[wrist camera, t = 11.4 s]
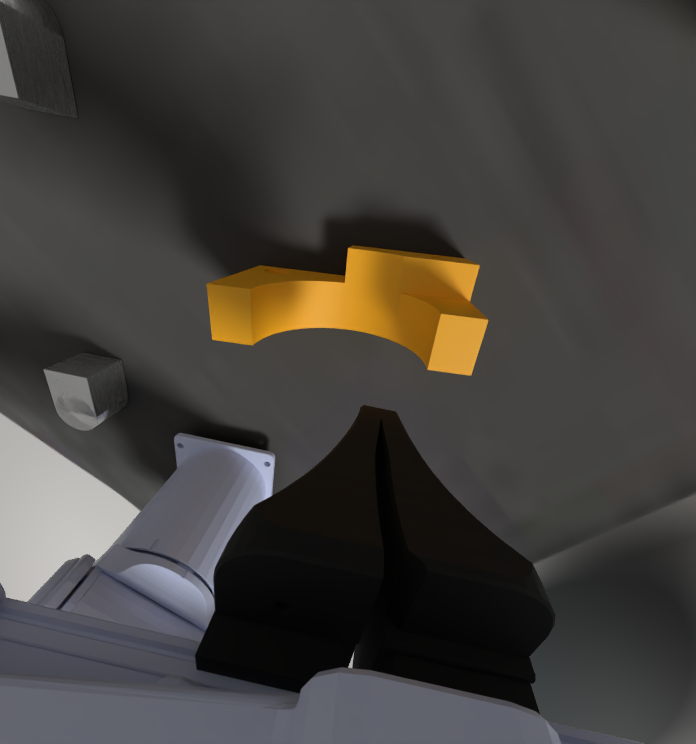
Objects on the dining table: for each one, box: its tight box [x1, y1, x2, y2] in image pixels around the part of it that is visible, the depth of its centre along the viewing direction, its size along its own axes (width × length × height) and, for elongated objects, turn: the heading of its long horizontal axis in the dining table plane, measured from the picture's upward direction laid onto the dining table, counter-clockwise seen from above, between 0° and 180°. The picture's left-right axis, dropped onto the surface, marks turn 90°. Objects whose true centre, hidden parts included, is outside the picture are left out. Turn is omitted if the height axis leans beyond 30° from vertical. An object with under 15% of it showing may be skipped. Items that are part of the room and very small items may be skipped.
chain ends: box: [0, 0, 128, 431], centre depth 18 cm, size 24×3×3 cm, turn 170°
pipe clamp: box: [207, 245, 488, 376], centre depth 16 cm, size 12×4×6 cm, turn 84°
